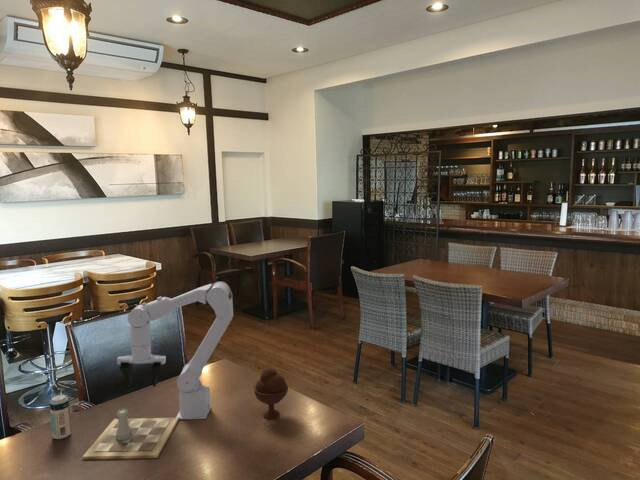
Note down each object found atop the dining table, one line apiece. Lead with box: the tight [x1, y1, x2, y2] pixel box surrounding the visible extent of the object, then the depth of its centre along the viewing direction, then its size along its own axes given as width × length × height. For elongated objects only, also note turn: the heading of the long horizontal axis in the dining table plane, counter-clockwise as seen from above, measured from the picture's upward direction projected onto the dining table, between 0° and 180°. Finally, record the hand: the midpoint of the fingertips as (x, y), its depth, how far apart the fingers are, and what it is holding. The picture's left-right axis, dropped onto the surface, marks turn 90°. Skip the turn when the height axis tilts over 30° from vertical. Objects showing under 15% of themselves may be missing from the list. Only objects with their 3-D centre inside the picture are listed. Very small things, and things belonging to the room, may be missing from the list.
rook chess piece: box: [116, 408, 132, 440], centre depth 131 cm, size 4×4×8 cm
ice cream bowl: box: [253, 367, 289, 420], centre depth 144 cm, size 11×11×15 cm
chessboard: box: [82, 417, 180, 460], centre depth 132 cm, size 20×20×1 cm
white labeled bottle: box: [49, 393, 72, 440], centre depth 133 cm, size 5×5×12 cm
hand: (142, 385), depth 144 cm, fingers open, 7 cm apart
